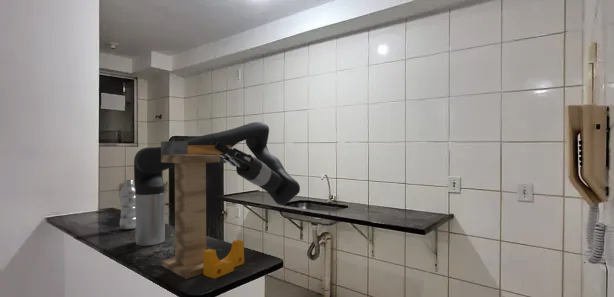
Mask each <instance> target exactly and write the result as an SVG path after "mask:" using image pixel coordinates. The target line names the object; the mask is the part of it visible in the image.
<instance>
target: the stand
mask: <svg viewBox="0 0 614 297" xmlns="http://www.w3.org/2000/svg"><path fill="white" fill-rule="evenodd" d="M161 162H165V163H175V166H174V248H175V250H174V251H175V252H174V253H175V255H174V257H169V258H166V259H161V266H162V268H163V267H164V268H165V269H167V270H169V271H171V272H172V273H175V274H176V275H178V276H179V277H181V278H184V279H186V280H187V279H190V278H194V277H198V276H201V275H202V274H203V251H204V250H207V165H206V164H209V163H211V164H212V163H221V160H220V155H196V154H193V155H161Z"/></svg>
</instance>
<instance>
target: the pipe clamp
mask: <svg viewBox="0 0 614 297" xmlns="http://www.w3.org/2000/svg"><path fill="white" fill-rule="evenodd" d="M216 250H217V249H216ZM216 250H215V249H212V248H208V249H207V248H206V250H204V251H203V276H206V277H208V278H210V279H217V278H219V277H222V276H225V275H227V274H230V273H231V272H234V271H235V268H236V267H238V266H241V265H244V264H245V240H241V239H236V240H233V241H232V244H231V248H230V250H229V252H228V254H227V255H226V256H225V257H224V258H222V259H219V258H218V256H217V251H216Z"/></svg>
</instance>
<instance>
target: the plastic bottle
mask: <svg viewBox="0 0 614 297" xmlns="http://www.w3.org/2000/svg"><path fill="white" fill-rule="evenodd" d="M122 186H123V187H121V190H120V191H119V192H118V193H119V195H118V196H119V201H120V219H119V227H120V229H121V230H128V231H129V229H130V230H134V229H136V202H135V184H134V179H125V180H123V182H122Z"/></svg>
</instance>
